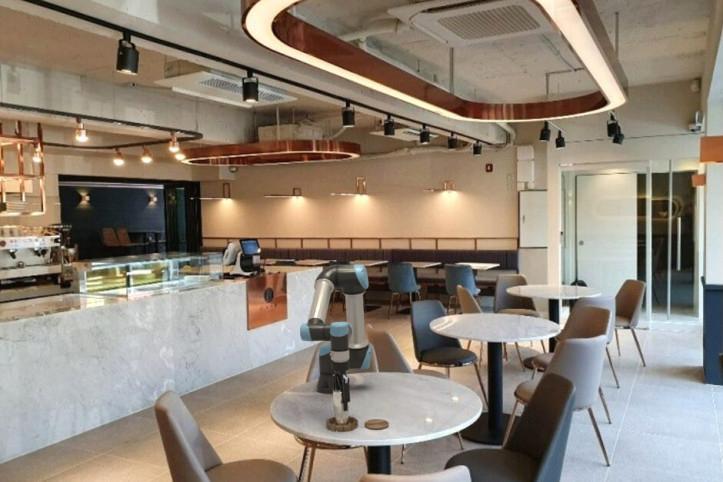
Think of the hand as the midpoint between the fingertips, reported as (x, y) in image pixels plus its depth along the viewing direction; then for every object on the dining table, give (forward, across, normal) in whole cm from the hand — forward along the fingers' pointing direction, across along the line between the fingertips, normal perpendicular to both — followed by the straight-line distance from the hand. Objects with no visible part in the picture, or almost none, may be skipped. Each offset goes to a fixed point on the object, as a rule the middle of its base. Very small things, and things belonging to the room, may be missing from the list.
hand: (341, 415), depth 238 cm
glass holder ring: (+4, 0, 0) cm, 4 cm away
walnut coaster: (+4, +6, +13) cm, 15 cm away
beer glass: (+5, 0, 0) cm, 5 cm away
